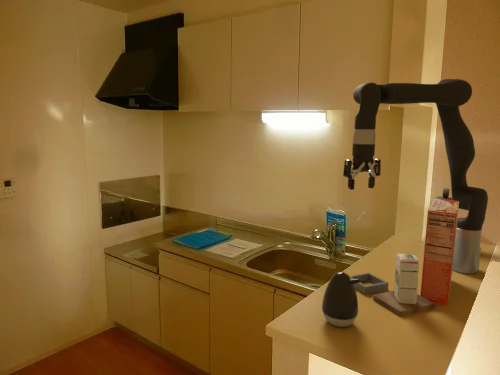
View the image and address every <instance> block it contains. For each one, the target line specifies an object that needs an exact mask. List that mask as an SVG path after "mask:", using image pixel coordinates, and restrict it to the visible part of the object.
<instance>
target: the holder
mask: <svg viewBox="0 0 500 375" xmlns="http://www.w3.org/2000/svg"><path fill="white" fill-rule="evenodd" d="M349 276H350V278H351V279H360V283H356V284H354V287H355V290H357V291H359V292H361V293H362V294H364V295H368V294H373V293H378V292H382V291H383V292H384V291H388V290H389V282H387V281H386V280H384V279H383V278H381V277H378V276H377V275H375V274H373V273H371V272H363V273H360V274H352V275H349ZM365 281H369V282H371V283H372V284H368V285H366V284H363V282H365Z"/></svg>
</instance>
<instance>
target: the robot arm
mask: <svg viewBox="0 0 500 375" xmlns="http://www.w3.org/2000/svg"><path fill="white" fill-rule="evenodd" d="M472 88H473V87H472V85H471V84H470V83H469V82H468V81H467V80H464V79H459V78H456V79H455V78H447V79H446V78H444V79H442V80H440V81H439V82H437V83H415V82H414V83H412V82H390V83H389V82H388V83H384V84H383V83H382V84H377V83H376V82H366V83H362V84H359V85H358V86H356V88H354V90H353V93H352V97H353V100H354V101H355V103H356V104H358V105H359V109H358V111H357V113H355V116H354V124H353V125H354V129H353V133H352V134H353V135H352V149H351V152H352V154H351V155H352V160H351V159H344V164H343V176H342V177H345V178H347V187H348V190H350V191H353V190H355V181H356V180H355V178H356V177H357V175H359V174H360V173H363V172H365V173H366V174H367V175H368V176H369V177H368V183H367V188H369V189H374V188H375V185H376V178H377V177H380V176H381V173H382V172H381V162H382V160H381V159H379V158H374V157H375V154H376V152H375V151H376V141H377V140H376V139H377V135H376V125H377V115H378V112H379V107H380V105H381V104H383V105H385V104H386V105H404V104H405V105H408V104H435V105H436V109H437V113H438V115H439V119H440V123H441V130H442V135H443V138H444V139H443V140H444V146H445V152H446V156H447V157H446V158H447V161H448V167H449V175H450V186H451V187H450V190H451V198H452V200H456V201H459V208H458V209H460V210H464V211H468V212H467V216H465V217H459V218H457V227H456V237H455V247H454V257H453V267H452V271H454V272H456V273H460V274H466V275H475V274H477V273H478V271H479V270H480V269H479V268H480V262H481V261H480V259H481V253H482V247H481V239H482V230H483V226H484V223H485V220H486V214H487V209H488V203H489V202H488V200H489V196H488V191H487V190H486V189H485V188H481V187H476V186H469V185H468V182H467V172H468V170H469V168H470V166H472V164H473V162H474V159H475V156H476V149H475V142H474V138H473V135H472V132H471V131H470V129H469V127H468V126H467V124H466V123H465V121H464V119H463V117H462V115H461V112H460V107H461V106H463V105H465V104H467V103H468V102H469V101H470V99H471V97H472V95H473V89H472Z"/></svg>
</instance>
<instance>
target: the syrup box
mask: <svg viewBox="0 0 500 375" xmlns="http://www.w3.org/2000/svg"><path fill="white" fill-rule="evenodd" d="M419 269H420V259H419V258H418V257H417V256H416V255H415V254H414V253H396V260H395V274H394V276H395V277H394V290H393V291H394V296H395V298H396V300H397V302H398V303H405V304H416V300H417V294H418V287H419Z"/></svg>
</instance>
